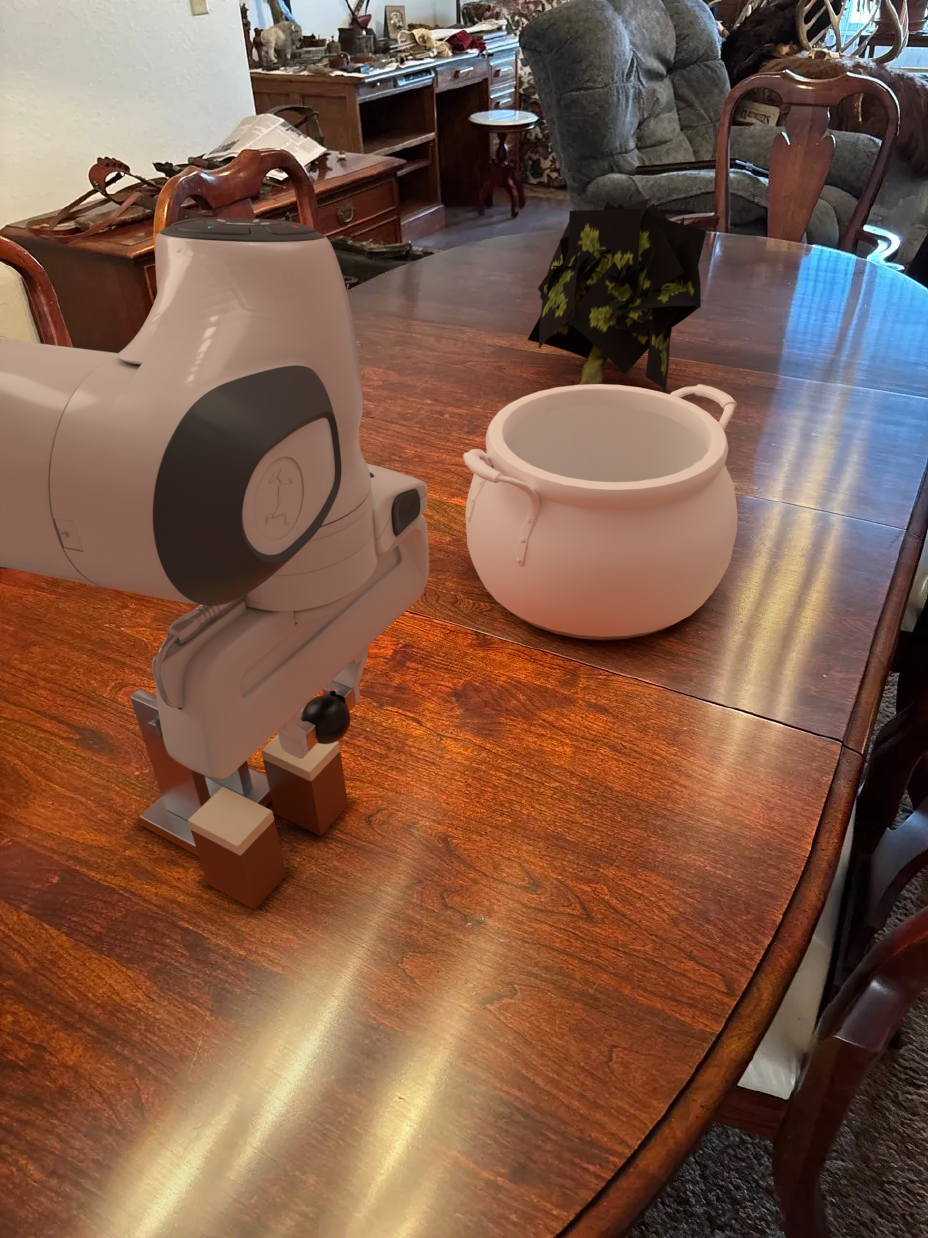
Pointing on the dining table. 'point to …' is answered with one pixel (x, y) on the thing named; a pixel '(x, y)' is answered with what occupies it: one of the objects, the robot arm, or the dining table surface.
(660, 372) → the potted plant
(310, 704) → the black ball knob lever
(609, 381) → the dining table surface
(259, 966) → the dining table surface
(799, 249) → the dining table surface
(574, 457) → the pot
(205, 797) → the bracket
